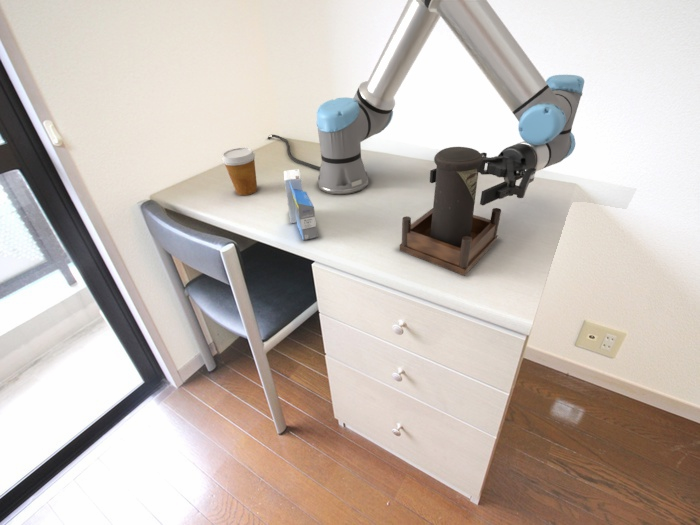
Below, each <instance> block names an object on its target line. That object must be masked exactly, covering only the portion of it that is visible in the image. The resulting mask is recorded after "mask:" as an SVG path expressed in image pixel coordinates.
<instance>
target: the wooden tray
mask: <svg viewBox="0 0 700 525" xmlns="http://www.w3.org/2000/svg"><path fill="white" fill-rule="evenodd" d="M432 214H433V207H431V209H429V210H428V211H427V212H425V213H424V214H423V215H421V216H420V217H419V218H417V219H416V220H415V221H413V222H412V217H410V216H407V215H406V216H403V217H402V218H401V243H400V244H399V252H400V251H401V252H402V253H405V254H408V255H410V256H413V257H415V258H418V259H421V260H423V261H426V262H428V263H430V264H432V265H435V266H438V267H441V268H443V269H446V270H448V271H451V272H454V273H456V274H459V275H461V276H463V277H465V276H466V275H467V274H468V273H469V271H471V269H473V267H474V266H475V265H476V264H477V263H478V262H479V261H480V260H481V259H482V258H483V257H484V255H485V254H486V253H487V252H488V251H490V249H491V248H492V247H493V246H494V245H495V244H496V243H497V242H498V237H499V235H497V234H498V229H499V224H500V221H501V220H500V219H501V214H502V209H501V208H499V207H493V208H492V210H491V214H490V215H491V216H490V218H486V217H483V216H479V215H476V214H473V220H472V229H471V237H469V236H464V237H462V242H461V248H459V247H456V246H453V245H450V244H447V243H444V242H442V241H439V240H436V239H433V238H430V231H431V223H432Z"/></svg>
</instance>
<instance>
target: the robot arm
mask: <svg viewBox="0 0 700 525" xmlns="http://www.w3.org/2000/svg"><path fill="white" fill-rule="evenodd" d="M440 19H442V20H443V21H444V23H445V24H446V25H447V27H448V28H449V29H450V31H451V32H452V34H453V35H454V36H455V37H456V39H457V40H458V41H459V43H460V44H461V45H462V47H463V48H464V50H465V51H466V52H467V53H468V55H469V56H470V57H471V59H472V60H473V62H474V63H475V64H476V66H477V67H478V68H479V70H480V71H481V73H482V74H483V76H485V78H486V79H487V80H488V82H489V83H490V85H491V86H492V87H493V89H494V90H495V91H496V93H497V94H498V95H499V97H500V98H501V99H502V100H503V102H504V103H505V105H506V107H508V109H509V110H510V111H511V113H512V114H513V115H514V117H515V118H516V120H517V121H518V133H519V136H520V138H521V139H522V140H523V141H520V142H517V143H515V144H513V145H510V146H507V147H505V148H504V149H503V150H501V151H500V153H499V154H498V155H495V156H491V157H488V156H487V155H488V153H487V152H479V153H480V154H481V155H482V156H483V161H482V163H481V165H480V166H479V172H478V174H480V175H492V176H495V177H497V178H503V181H502V182H500V183H498V184H495V185H493V186H490V187H487V188H486V189H483V190H481V195H480V201H479V205H480V206H485V205H487V204H491V203H492V202H495V201H496V200H501V199H504V198H507V197H513V196H516V198H518V199H523V198H524V197H525V194H526V192H527V189H528V188H529V185H530V184H531V183H533V182H534V180H535V177H536V172H538V171H541V170H543V169H547V168H549V167H551V166H553V165H556V164H559V163H561V162H562V161H563V160H565V159H567V158H568V157H569V156H571V155H572V154H573V152H574V150H575V148H576V140H575V134H573V132H572V128H573V124H574V122H575V117H576V115H577V111H578V108H579V105H580V101H581V98H582V96H583V90H584V86H585V79H584V77H582V76H580V75H574V74H554V75H551V76H549V77H547V78H546V80H545V78H544V77H543V75H542V74H541V73H540V71H539V70H538V69H537V67H536V66H535V65H534V63H533V62H532V60H531V59H530V57H529V56H528V55H527V53H526V52H525V50H524V49H523V48H522V47H521V45H520V44H519V43H518V41H517V40H516V38H515V37H514V35H513V34H512V33H511V31H510V30H509V29H508V28H507V26H506V25H505V22H503V21H502V19H501V17H499V14H497V13H496V11H495V9H494V8H493V7H492V5H491V4H490V3H489V1H488V0H407V2H406V4H405V6H404V7H403V10H402V11H401V13H400V15H399V17H398V20H397V21H396V24H395V26H394V27H393V30H392V32H391V34H390V35H389V38H388V40H387V42H386V43H385V45H384V48H383V50H382V52H381V54H380V55H379V58H378V60H377V62H376V64H375V65H374V68H373V70H372V71H371V74H370V76H369V78H368V80H365V81H362V82H361V83H360V84H359V86H358V88H357V90H356V92H355V94H354V96H353V97H337V98H335V99H330V100H327V101H325V102H323V103H322V104H320V106H318V107H317V110H316V127H317V133H318V141H319V148H320V155H321V156H320V157H321V158H320V159H321V163H320V166H318V165H316V164H312V163H309V162H306V161H303V160H300V159H297V158H296V157H294V156H293V154H292V152H291V147H290V146H291V145H290V142H289V141H288V139H286V138H285V137H282V136H280V135H277V134H271V135H272V137H269V136H267V140H270V139H271V138H276V139H279V140H281V141H283V142H285V145H286V151H287V152H286V153H287V155H288V157H289V158H290V159H291V160H292V161H294V162H296V163H297V164H301V165H304V166H306V167H309V168H311V169H314V170H319V175H318V177H317V184H318V188H319V190H321V191H322V192H324V193H327V194H331V195H349V194H354V193H357V192H360V191H362V190H364V189H365V188H366V187H368V185H369V174H368V172H367V171H366V169H365V165H364V162H363V159H362V147H361V146H362V145H361V143H362V142H363V141H365V140H367V139H369V138H371V137H373V136H375V135H378V134H379V133H381V132H383V131H384V130H385V129H386V128H387V127H388V126H389V124H390V123H391V122H392V120H393V115H394V111H393V110H394V108H395V107H396V100H395V96H396V94H397V92H398V91H399V90H400V87H401V86H402V84H403V82H404V80H405V79H406V77H407V76H408V73H409V72H410V70H411V68H412V67H413V65H414V63H415V61H416V60H417V58H418V56H419V55H420V53H421V52H422V50H423V48H424V46H425V44H426V43H427V41H428V39H429V38H430V36H431V34H432V32H433V31H434V29H435V27H436V26H437V24H438V22H439V21H440ZM486 164H487V165H486ZM485 167H486V168H485ZM436 169H437V167H436V168H433V169H430V172H429V184H435V183H436ZM520 179H521V180H520ZM518 180H520V182H519V185H517V184H516V183H517V181H518Z"/></svg>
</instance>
